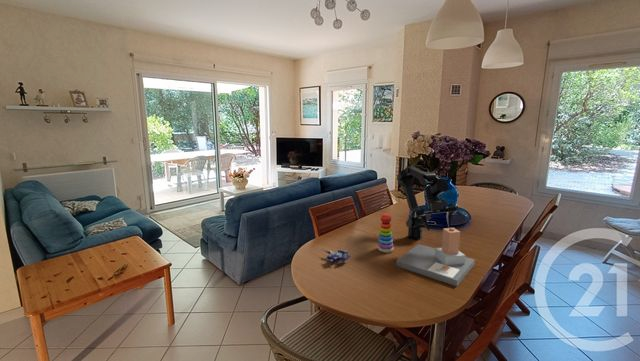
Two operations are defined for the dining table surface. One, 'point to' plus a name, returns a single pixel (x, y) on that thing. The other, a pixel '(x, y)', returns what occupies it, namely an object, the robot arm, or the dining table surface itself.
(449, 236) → the pillar block
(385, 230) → the stacking toy
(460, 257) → the base block
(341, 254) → the toy airplane
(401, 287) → the dining table surface
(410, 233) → the robot arm
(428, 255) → the board
